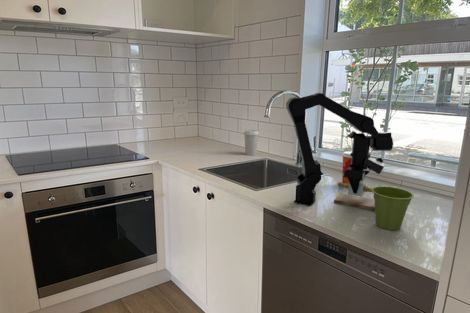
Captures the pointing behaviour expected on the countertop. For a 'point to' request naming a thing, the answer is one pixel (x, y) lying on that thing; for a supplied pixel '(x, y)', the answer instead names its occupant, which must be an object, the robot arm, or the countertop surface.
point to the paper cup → (346, 165)
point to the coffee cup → (251, 141)
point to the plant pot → (391, 206)
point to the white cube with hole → (360, 189)
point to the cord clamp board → (355, 199)
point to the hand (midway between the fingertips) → (356, 191)
